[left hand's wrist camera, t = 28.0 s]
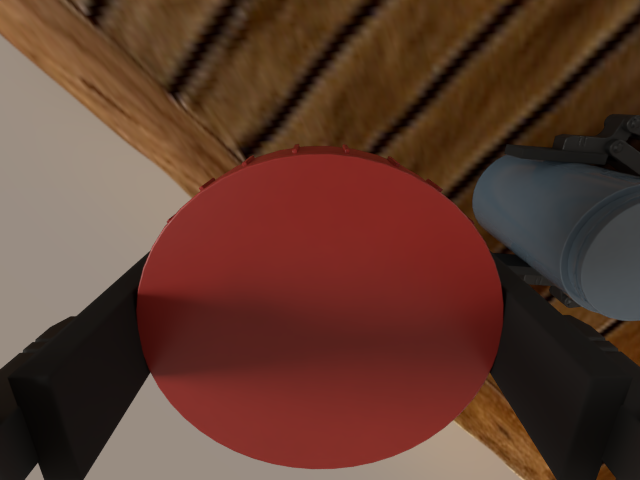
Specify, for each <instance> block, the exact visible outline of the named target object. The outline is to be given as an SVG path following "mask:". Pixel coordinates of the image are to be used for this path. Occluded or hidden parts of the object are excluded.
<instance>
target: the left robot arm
mask: <svg viewBox="0 0 640 480" xmlns="http://www.w3.org/2000/svg"><path fill="white" fill-rule="evenodd" d="M489 251H490V250H489ZM149 253H150V252H148V253H147V254H146V255H145V256H144V257H143V258H142V259H140V260H139V261H138V262H137V263H136V264H135V265H134V266H133V267H131V268H130V269H129V270H128V271H127V272H126V273H125V274H124V275H122V276H121V277H120V278H119V279H118V280H117V281H116V282H115V283H113V284H112V285H111V286H110V287H109V288H108V289H107V290H106V291H104V292H103V293H102V294H101V295H100V296H99V297H98V298H97V299H95V300H94V301H93V302H92V303H91V304H90V305H89V306H87V307H86V308H85V309H84V310H83V311H82V312H81V313H80V314H78V315H77V316H71V317H69V318H67V319H65V320H63V321H61V322H59V323H57V324H55V325H54V326H52V327H50V328H49V329H48V330H46V331H45V332H44V333H43V334H42V335H40V336H39V337H38V338H37V339H36V341H35V342H32V343H31V344H30V345H29V346H27V347H26V348H25V349H24V350H23V353H19V354H18V355H17V356H16V357H14V358H13V359H12V360H11V361H10V362H8V363H7V364H6V365H5V366H4V367H3V368H1V369H0V480H25V478H26V477H27V476H28V475H29V473H30V472H31V471H32V470H33V468H34V467H35V466H36V464H37V463H38V464H39V466H40V469H41V472H42V475H43V477H44V480H84V478H85V476H86V475H87V473H88V472H89V470H90V468H91V467H92V465H93V463H94V462H95V460H96V459H97V457H98V456H99V454H100V452H101V451H102V449H103V448H104V446H105V444H106V443H107V441H108V439H109V438H110V436H111V435H112V433H113V431H114V430H115V428H116V427H117V425H118V423H119V422H120V420H121V419H122V417H123V415H124V414H125V412H126V411H127V409H128V407H129V406H130V404H131V403H132V401H133V399H134V398H135V396H136V395H137V393H138V391H139V390H140V388H141V386H142V385H143V383H144V382H145V380H146V378H147V377H148V375H149V374H150V370H149V368H148V365H147V363H146V360H145V357H144V355H143V350H142V345H141V341H140V336H139V331H138V325H137V314H136V307H137V296H138V287H139V283H140V279H141V275H142V271H143V267H144V265H145V263H146V260H147V258H148V256H149ZM490 253H491V255H492V257H493V259H494V261H495V265H496V268H497V271H498V275H499V278H500V282H501V288H502V295H503V303H504V313H503V327H502V332H501V337H500V342H499V347H498V351H497V355H496V358H495V361H494V364H493V366H492V368H491V370H490V373H491V375H492V377H493V378H494V380H495V381H496V383H497V385H498V386H499V388H500V389H501V391H502V393H503V394H504V396H505V397H506V399H507V401H508V402H509V404H510V405H511V407H512V409H513V410H514V412H515V413H516V415H517V417H518V418H519V420H520V421H521V423H522V425H523V426H524V428H525V429H526V431H527V433H528V434H529V436H530V438H531V439H532V441H533V442H534V444H535V446H536V447H537V449H538V450H539V452H540V454H541V455H542V457H543V458H544V460H545V462H546V463H547V465H548V466H549V468H550V470H551V471H552V473H553V474H554V476H555V478H556V479H557V480H596V478H597V476H598V473H599V470H600V467H601V465H602V462H604V463H605V464H606V466H607V467H608V468H609V470H610V471H611V472H612V473H613V475H614V476H615V477H616V480H640V367H639V366H638V365H637V364H635V363H634V362H633V361H632V360H631V359H629V358H628V357H627V356H626V355H625V354H623V353H622V352H618V349H617V348H616V347H615V346H614V345H613V344H611V343H610V342H609V341H606V340H605V338H604V337H603V336H602V335H601V334H599V333H598V332H597V331H596V330H595V329H593V328H592V327H591V326H590V325H588V324H586V323H584V322H582V321H580V320H578V319H576V318H574V317H573V316H571V315H562V314H561V313H560V312H558V311H557V310H556V309H555V308H554V307H553V306H552V305H551V304H549V303H548V302H547V301H546V300H545V299H544V298H543V297H542V296H540V295H539V294H538V293H537V292H536V291H535V290H534V289H532V288H531V287H530V286H529V285H528V284H527V283H526V282H525V281H523V280H522V279H521V278H520V277H519V276H518V275H517V274H516V273H514V272H513V271H512V270H511V269H510V268H509V267H508V266H507V265H505V264H504V263H503V262H502V261H501V260H500V259H499V258H498V257H496V256H495V255H494V254H493V253H492V252H491V251H490Z"/></svg>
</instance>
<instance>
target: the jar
mask: <svg viewBox="0 0 640 480" xmlns="http://www.w3.org/2000/svg"><path fill="white" fill-rule="evenodd" d="M473 211H474V214H475V217H476V219H477V221H478V223H479V224H480V225H481V227H482V228H483V229H484V230H486V231H487V232H488V233H490V234H491V235H492V236H493V237H495V238H496V239H497V240H498V241H500V242H501V243H502V244H503V245H505V246H506V247H507V248H508V249H510V250H511V251H512V252H513V253H515V254H516V255H517V256H518V257H520V258H521V259H522V260H523V261H525V262H526V263H527V264H528V265H530V266H531V267H532V268H533V269H535V270H536V271H537V272H538V273H540V274H541V275H542V276H543V277H545V278H546V279H547V280H548V281H550V282H551V283H552V284H553V285H555V286H556V287H557V288H558V289H560V290H561V291H562V292H563V293H565V294H566V295H567V296H568V297H570V298H571V299H572V300H573V301H575V302H576V303H577V304H579V305H580V306H582V307H584V308H586V309H588V310H590V311H593V312H597V313H600V314H602V315H604V316H607V317H609V318H614V319H619V320H626V321H639V320H640V177H638V176H634V175H630V174H625V173H621V172H617V171H613V170H609V169H605V168H601V167H597V166H593V165H589V164H585V163H572V162H559V161H546V160H533V159H521V158H517V157H514V156H511V155H505V156H503V157H501V158H499V159H498V160H496V161H495V162H494V163H492V164H491V165H490V166H489V167H488V168H487V169H486V170H485V171H484V173H483V174H482V175H481V177H480V178H479V180H478V182H477V184H476V187H475V190H474V194H473Z"/></svg>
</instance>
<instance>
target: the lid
mask: <svg viewBox="0 0 640 480" xmlns="http://www.w3.org/2000/svg"><path fill="white" fill-rule="evenodd" d="M199 189H200V192H199V193H198V194H197V195H196V196H194V197H193V198H192V199H191V200H190V201H189V202H187V203H186V204H185V205H184V206H183V207H182V208H180V210H179V211H178V212H177V213H176V214H175V215H174V216H172V217H171V218H170V219H169V220H168V221H167V223H168V224H167V225H166V226H165V227H164V229H163V230H162V232H161V234H160V235H159V237H158V238H157V240H156V242H155V243H154V245H153V246H152V248H151V251H150V253H149V256H148V258H147V260H146V263H145V265H144V267H143V271H142V275H141V279H140V283H139V287H138V296H137V307H136V314H137V325H138V331H139V336H140V341H141V345H142V350H143V355H144V357H145V360H146V363H147V365H148V368H149V370H150V372H151V374H152V376H153V378H154V379H155V381H156V383H157V385H158V387H159V388H160V390H161V391H162V392H163V394H164V395H165V396H166V398H167V399H168V400H169V402H170V403H171V404H172V405H173V406H174V408H176V410H177V411H178V412H179V413H180V414H181V415H182V416H183V417H184V418H185V419H186V420H187V421H189V422H190V423H191V424H192V425H193V426H195V427H196V428H197V429H198V430H199V431H201V432H202V433H204V434H206V435H207V436H209V437H210V438H212V439H213V440H215V441H216V442H218V443H220V444H222V445H224V446H226V447H228V448H229V449H231V450H233V451H236V452H238V453H241V454H243V455H246V456H248V457H251V458H254V459H257V460H261V461H264V462H268V463H271V464H276V465H282V466H287V467H294V468H305V469H336V468H345V467H354V466H359V465H363V464H368V463H373V462H376V461H380V460H383V459H386V458H389V457H392V456H395V455H397V454H400V453H402V452H404V451H406V450H409V449H411V448H413V447H415V446H417V445H418V444H420V443H422V442H424V441H426V440H427V439H429V438H430V437H432V436H433V435H435V434H436V433H438V432H439V431H440V430H442V429H443V428H445V427H446V426H447V425H448V424H449V423H450V422H451V421H453V420H454V419H455V418H456V417H457V416H458V415H459V414H460V413H461V412H462V411H463V410H464V409H465V408H466V407H467V405H468V404H469V403H470V402H471V401H472V400H473V398H474V397H475V395H476V394H477V393H478V391H479V390H480V388H481V387H482V385H483V384H484V382H485V380H486V378H487V376H488V374H489V372H490V370H491V368H492V366H493V364H494V361H495V358H496V355H497V351H498V347H499V342H500V337H501V332H502V327H503V313H504V303H503V295H502V288H501V282H500V278H499V275H498V271H497V268H496V265H495V261H494V259H493V257H492V255H491V253H490V251H489V249H488V247H487V245H486V243H485V241H484V239H483V238H482V236H481V235H480V233H479V232H478V231H477V229H476V228H475V226H474V225H473V224H474V222H473V221H472V220H471V219H470V218H468V217H467V216H466V215H465V214H464V213H463V212H462V211H461V210H460V209H459V208H458V207H457V206H456V205H455V204H454V203H453V202H452V201H451V200H449V199H448V198H447V197H446V196H444V195H443V194H442V193H440V192H441V191H442V190H443V189H441V188H440V187H439V186H437V185H436V184H435V183H433V182H432V181H431V180H429V179H427V180H426V181H425V180H424V179H422V178H421V177H420V176H418V175H417V174H415V173H413V172H412V171H410V170H408V169H406V168H405V167H403V166H401V165H400V164H399V163H398V162H397V161H396V160H394V159H393V158H392V157H389V156H388V159H385V158H383V157H380V156H378V155H375V154H371V153H367V152H363V151H359V150H355V149H350V148H348V146H347V145H344V144H343V147H342V148H341V147H332V146H307V147H299V144H296V145H295V146H294V148H292V149H285V150H279V151H276V152H273V153H269V154H266V155H263V156H259V157H256V158H254V156H251V157H249V158H248V159H247V160H245V161H244V162H243V163H242V164H241V165H239V166H237V167H235V168H233V169H232V170H230V171H229V172H227V173H225V174H224V175H222V176H221V177H219V178H218V179H216V180H215V179H214V178H212V179H211V180H210V181H208V182H207V183H205V184H204V185H203V186H201V187H200V188H199Z"/></svg>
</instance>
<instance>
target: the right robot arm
mask: <svg viewBox="0 0 640 480" xmlns="http://www.w3.org/2000/svg"><path fill="white" fill-rule="evenodd" d="M604 126H605V128H604V129H603V130H602V132H601V133H600V134H598V135H596V136H579V135H567V134H561V135H558V136H555V140H554V143H553V147H552V148H547V147H534V146H521V145H508V144H507V145H506V150H505V154H507V155H511V156H514V157H517V158H521V159H533V160H546V161H559V162H572V163H585V164H598V165H605V163H606V162H607V163H609V164H610V165H611V166H613V167H614V168H616V169H617V170H618V171H620V172H621V173H625V174H630V175H634V176H638V177H640V152H639V151H637V150H636V149H634V148H633V147H632V146H630V145H629V144H628V143H626V141H627V140H628V138H629V137H631V138H634V139H637V140H640V116H639V115H622V114H612V115H609V116H608V117H607V118H606V119H605V122H604ZM493 254H494V255H495V256H496V257H498V258H499V259H500V260H501V261H502V262H503V263H504V264H505V265H507V266H508V267H509V268H510V269H511V270H512V271H513V272H514V273H516V274H517V275H518V276H519V277H520V278H521V279H522V280H523V281H525V282H526V283H527V284H533V285H534V284H535V285H547V286H551V287H550V289H549V291H550V293H551V294H552V295H553V296H554V297H556V298H557V299H558V300H559V301H560V302H562V303H563V304H564V305H565V306H566V307H568V308H574V307H582V306H580V305H579V304H577V303H576V302H575V301H573V300H572V299H571V298H570V297H568V296H567V295H566V294H565V293H563V292H562V291H561V290H560V289H558V288H557V287H556V286H555V285H553V284H552V283H551V282H550V281H548V280H547V279H546V278H545V277H543V276H542V275H541V274H540V273H538V272H537V271H536V270H535V269H533V268H532V267H531V266H530V265H528V264H527V263H526V262H525V261H523V260H522V259H521V258H520V257H518V256H517V255H512V254H498V253H493Z"/></svg>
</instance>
